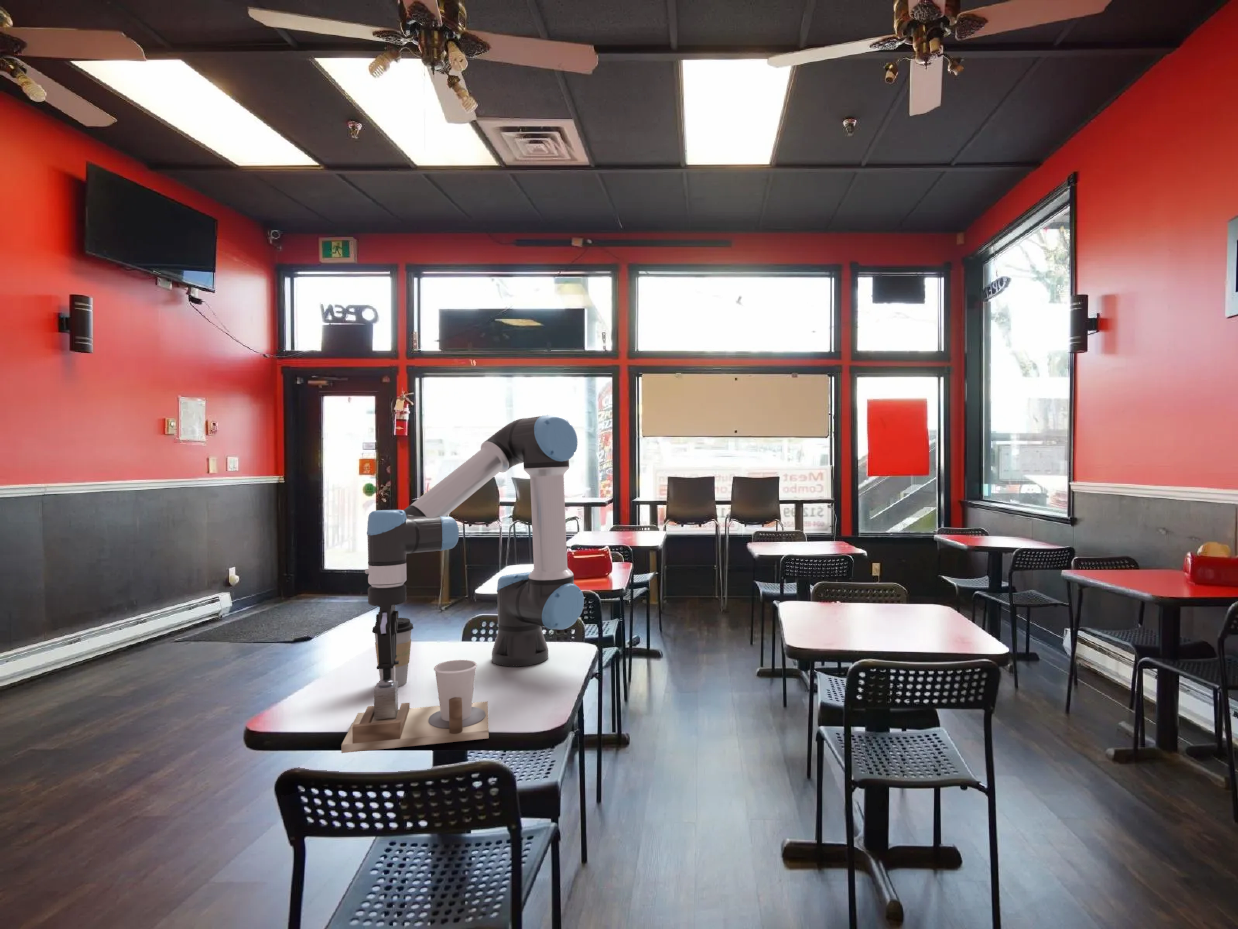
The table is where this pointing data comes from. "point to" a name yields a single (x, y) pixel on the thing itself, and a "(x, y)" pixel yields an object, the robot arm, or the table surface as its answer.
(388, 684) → the grey square bottle
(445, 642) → the table surface
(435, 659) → the table surface
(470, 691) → the dixie cup
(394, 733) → the board
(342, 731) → the table surface
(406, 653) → the coffee cup
